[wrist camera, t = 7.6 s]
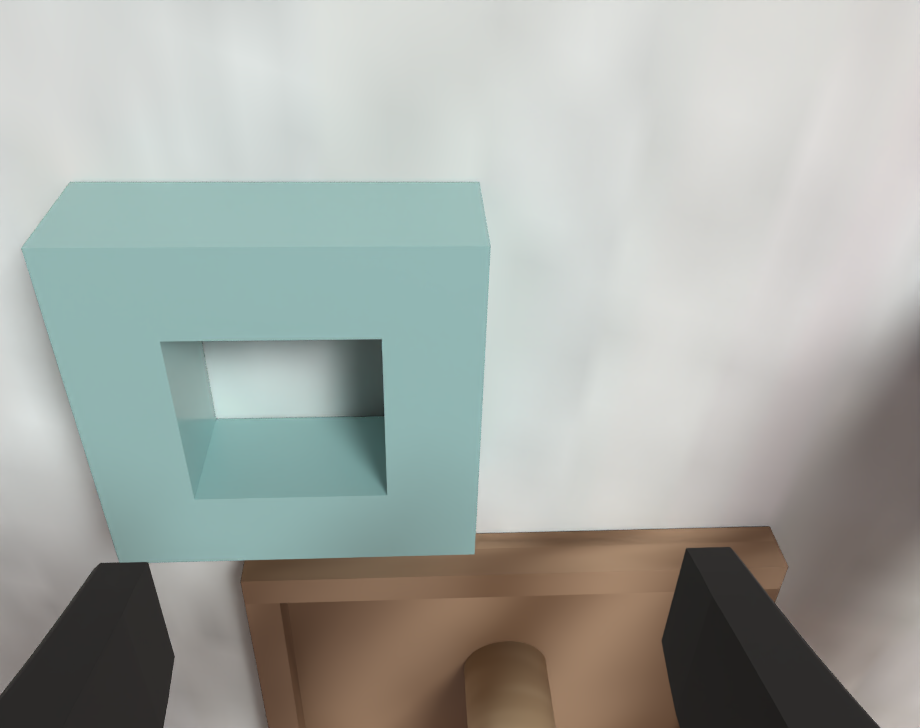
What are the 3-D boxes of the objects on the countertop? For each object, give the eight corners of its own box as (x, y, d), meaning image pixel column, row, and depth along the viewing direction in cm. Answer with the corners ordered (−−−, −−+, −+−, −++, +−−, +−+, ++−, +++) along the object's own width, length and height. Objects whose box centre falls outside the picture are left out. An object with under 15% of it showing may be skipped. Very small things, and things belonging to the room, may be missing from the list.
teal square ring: (479, 182, 19) (490, 245, 17) (467, 473, 25) (474, 554, 22) (69, 182, 19) (21, 247, 16) (147, 480, 24) (120, 563, 22)
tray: (769, 526, 27) (788, 566, 25) (696, 738, 34) (708, 778, 33) (248, 539, 26) (240, 581, 24) (286, 754, 33) (281, 796, 32)
